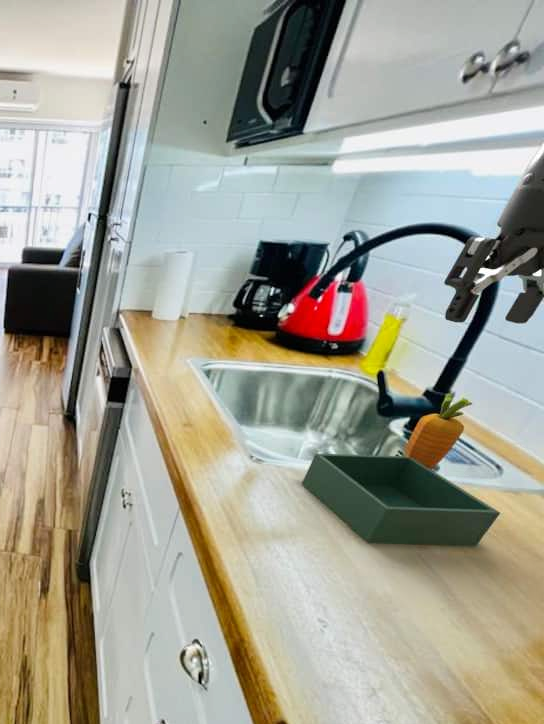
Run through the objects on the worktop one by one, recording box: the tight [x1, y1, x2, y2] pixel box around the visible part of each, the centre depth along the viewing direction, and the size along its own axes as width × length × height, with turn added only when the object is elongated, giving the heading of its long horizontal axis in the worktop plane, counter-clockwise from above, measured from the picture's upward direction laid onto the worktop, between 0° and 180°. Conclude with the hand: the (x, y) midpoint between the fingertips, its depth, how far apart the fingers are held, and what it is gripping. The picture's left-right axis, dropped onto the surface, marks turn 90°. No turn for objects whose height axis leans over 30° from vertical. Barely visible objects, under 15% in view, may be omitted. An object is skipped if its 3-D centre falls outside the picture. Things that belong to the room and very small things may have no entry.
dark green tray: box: [301, 452, 501, 548], centre depth 68 cm, size 14×14×6 cm
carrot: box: [403, 393, 473, 470], centre depth 74 cm, size 5×5×15 cm
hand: (484, 321), depth 65 cm, fingers open, 8 cm apart
